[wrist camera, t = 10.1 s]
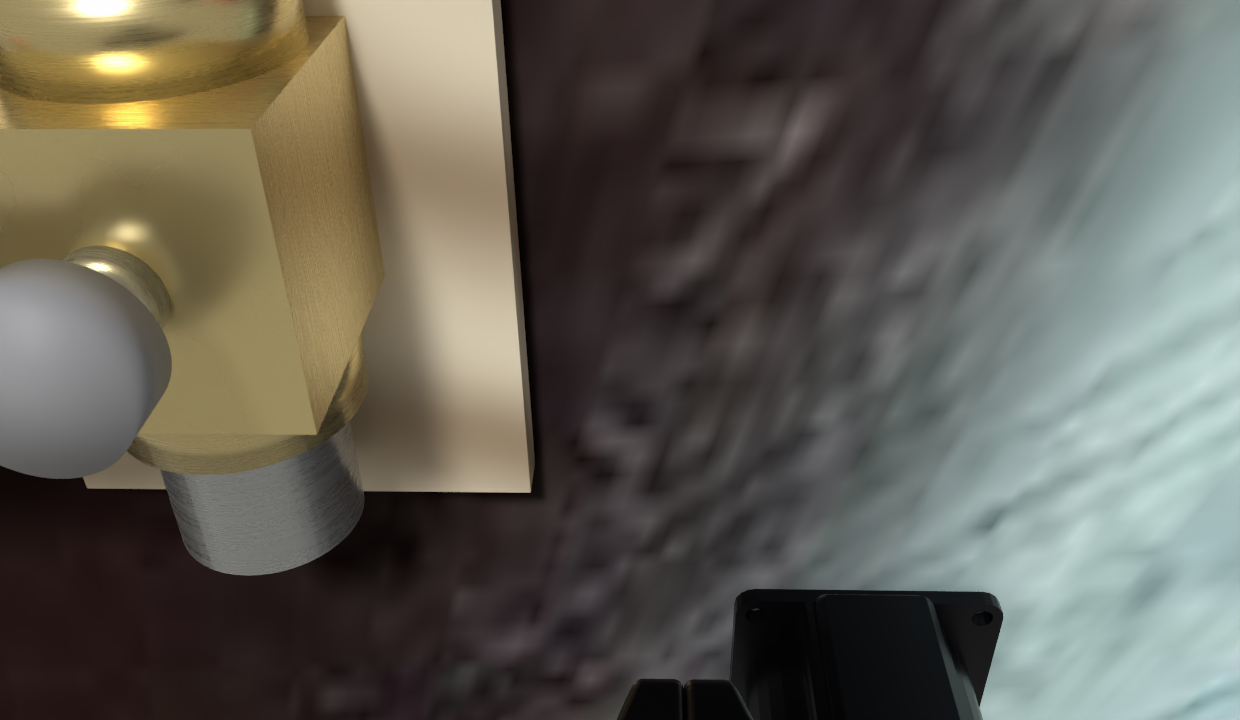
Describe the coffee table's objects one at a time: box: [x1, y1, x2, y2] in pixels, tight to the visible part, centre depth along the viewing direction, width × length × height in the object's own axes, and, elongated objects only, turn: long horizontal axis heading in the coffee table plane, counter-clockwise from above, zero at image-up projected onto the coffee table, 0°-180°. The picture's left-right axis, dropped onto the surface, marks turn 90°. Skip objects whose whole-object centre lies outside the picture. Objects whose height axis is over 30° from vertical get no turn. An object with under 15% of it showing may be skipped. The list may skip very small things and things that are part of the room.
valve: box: [0, 0, 385, 575], centre depth 17 cm, size 14×5×6 cm, turn 1°
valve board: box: [83, 0, 535, 493], centre depth 20 cm, size 16×10×1 cm, turn 1°
